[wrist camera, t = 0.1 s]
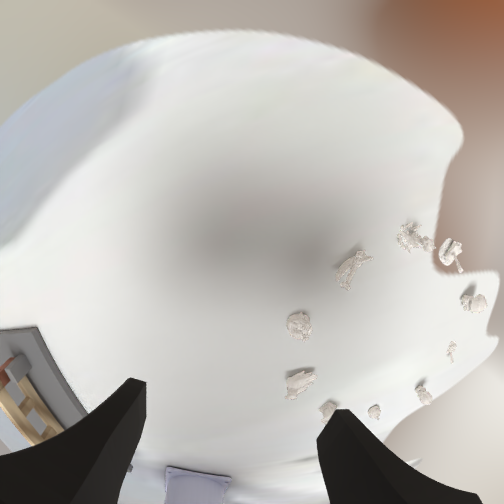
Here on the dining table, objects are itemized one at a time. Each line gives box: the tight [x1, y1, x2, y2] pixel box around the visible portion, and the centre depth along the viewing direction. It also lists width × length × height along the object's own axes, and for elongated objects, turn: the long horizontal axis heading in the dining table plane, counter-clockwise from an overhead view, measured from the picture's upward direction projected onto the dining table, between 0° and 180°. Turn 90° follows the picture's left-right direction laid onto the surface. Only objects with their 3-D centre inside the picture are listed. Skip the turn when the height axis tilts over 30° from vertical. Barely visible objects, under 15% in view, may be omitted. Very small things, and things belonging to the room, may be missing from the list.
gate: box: [0, 357, 64, 446], centre depth 17 cm, size 15×2×5 cm, turn 12°
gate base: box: [0, 328, 133, 472], centre depth 19 cm, size 22×19×4 cm
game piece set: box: [285, 222, 487, 425], centre depth 18 cm, size 19×20×4 cm
